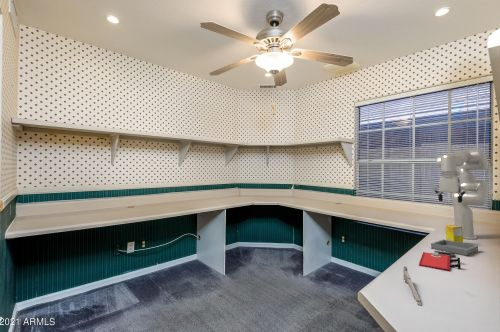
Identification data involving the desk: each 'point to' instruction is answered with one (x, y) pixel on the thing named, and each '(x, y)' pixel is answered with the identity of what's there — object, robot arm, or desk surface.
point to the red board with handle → (439, 260)
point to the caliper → (410, 285)
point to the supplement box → (454, 233)
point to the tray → (454, 247)
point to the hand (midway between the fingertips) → (450, 201)
